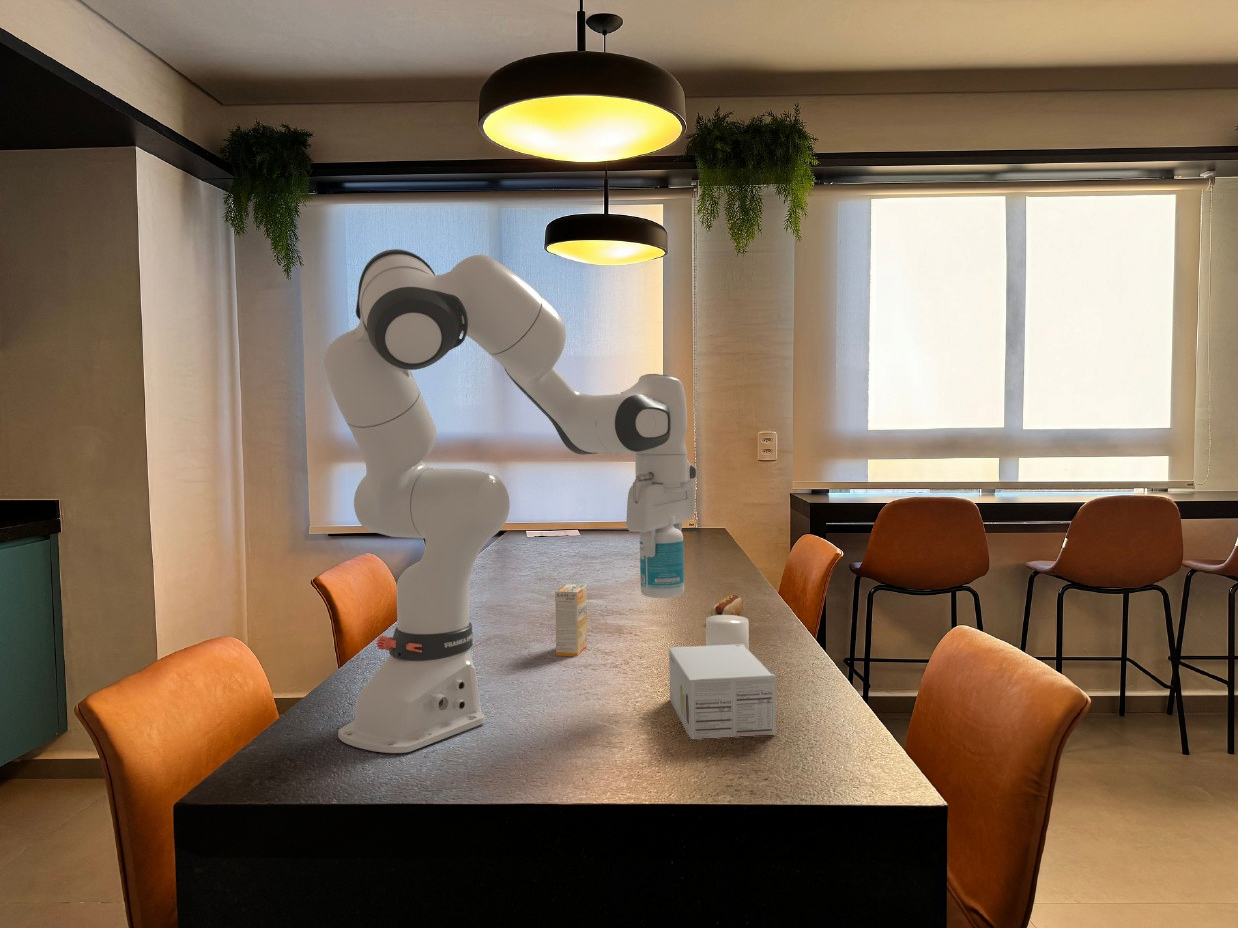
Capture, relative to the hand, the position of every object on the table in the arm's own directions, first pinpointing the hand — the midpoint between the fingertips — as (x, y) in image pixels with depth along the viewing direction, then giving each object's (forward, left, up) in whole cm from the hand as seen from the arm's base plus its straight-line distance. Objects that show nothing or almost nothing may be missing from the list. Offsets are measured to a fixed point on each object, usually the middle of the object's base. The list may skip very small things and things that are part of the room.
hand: (662, 552), depth 134 cm
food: (+55, +9, -25) cm, 61 cm away
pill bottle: (0, 0, -7) cm, 7 cm away
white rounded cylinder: (+18, -5, -24) cm, 31 cm away
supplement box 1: (+14, +27, -24) cm, 39 cm away
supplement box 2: (-6, -13, -25) cm, 28 cm away
